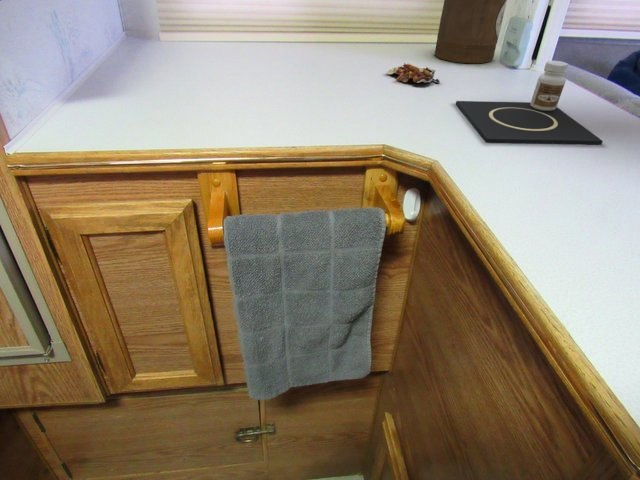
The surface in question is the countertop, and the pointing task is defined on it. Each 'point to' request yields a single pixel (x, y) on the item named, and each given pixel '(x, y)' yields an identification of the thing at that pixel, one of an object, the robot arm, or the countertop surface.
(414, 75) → the reddish brown crumpled piece
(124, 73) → the countertop surface
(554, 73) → the pill bottle
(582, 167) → the countertop surface
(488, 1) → the wooden container
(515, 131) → the mat
